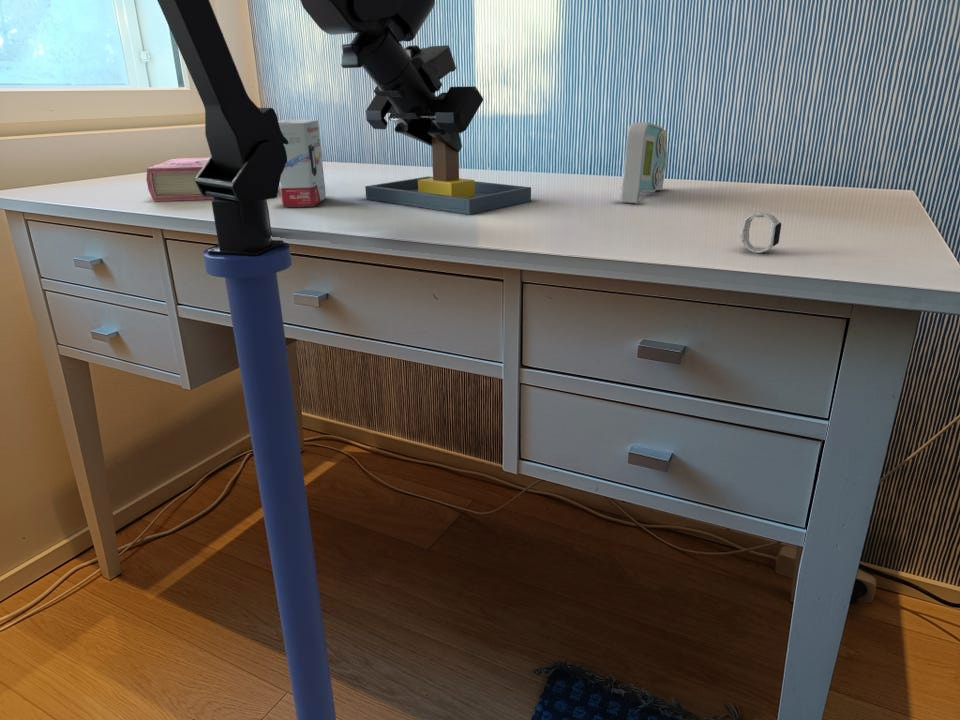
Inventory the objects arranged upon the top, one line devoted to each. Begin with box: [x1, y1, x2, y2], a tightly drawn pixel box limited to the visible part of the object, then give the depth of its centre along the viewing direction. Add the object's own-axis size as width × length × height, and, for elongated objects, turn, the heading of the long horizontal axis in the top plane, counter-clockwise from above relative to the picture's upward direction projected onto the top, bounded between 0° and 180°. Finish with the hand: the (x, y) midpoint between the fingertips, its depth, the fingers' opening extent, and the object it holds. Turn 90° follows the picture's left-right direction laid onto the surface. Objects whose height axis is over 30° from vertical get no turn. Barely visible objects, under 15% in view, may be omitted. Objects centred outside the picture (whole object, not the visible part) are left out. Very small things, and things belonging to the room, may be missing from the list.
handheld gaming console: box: [620, 121, 669, 205], centre depth 103 cm, size 11×3×15 cm
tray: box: [364, 175, 532, 215], centre depth 103 cm, size 22×14×2 cm, turn 49°
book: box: [145, 156, 215, 202], centre depth 114 cm, size 14×15×5 cm
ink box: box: [278, 119, 327, 208], centre depth 102 cm, size 9×5×12 cm, turn 179°
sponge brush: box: [418, 118, 475, 198], centre depth 101 cm, size 5×7×13 cm
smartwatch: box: [739, 211, 782, 254], centre depth 70 cm, size 4×2×4 cm, turn 52°
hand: (452, 148), depth 102 cm, fingers closed on sponge brush, 3 cm apart
